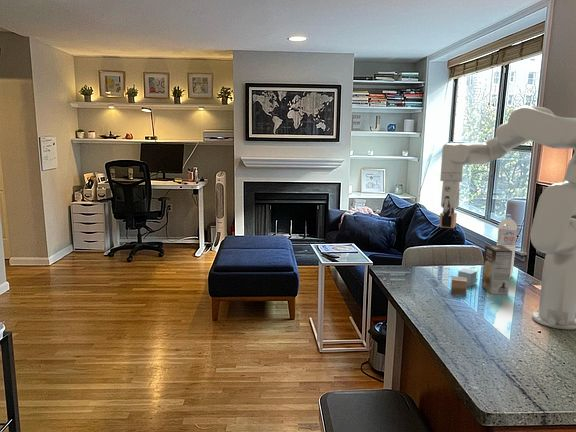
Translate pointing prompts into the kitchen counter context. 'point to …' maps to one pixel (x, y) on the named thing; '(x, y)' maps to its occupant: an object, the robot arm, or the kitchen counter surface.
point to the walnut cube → (459, 285)
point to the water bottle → (507, 236)
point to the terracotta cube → (453, 220)
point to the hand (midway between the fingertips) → (447, 225)
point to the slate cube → (468, 276)
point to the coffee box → (496, 269)
